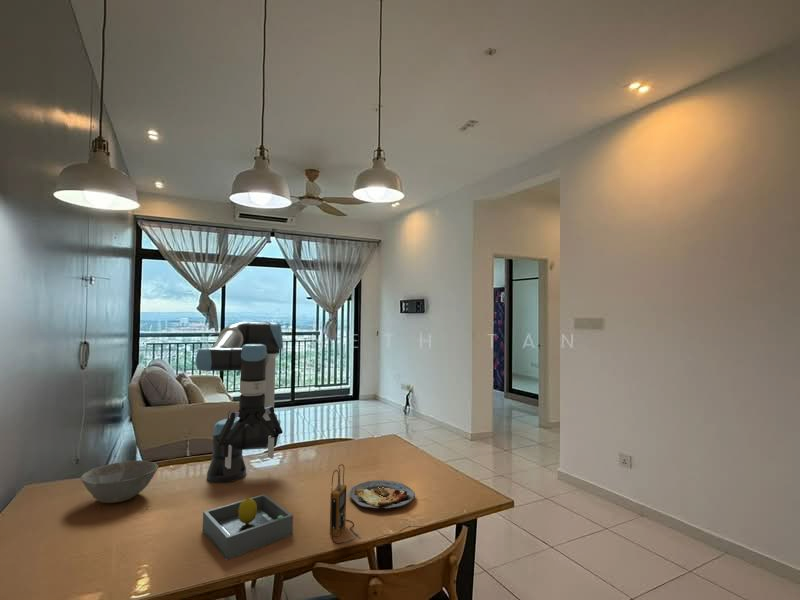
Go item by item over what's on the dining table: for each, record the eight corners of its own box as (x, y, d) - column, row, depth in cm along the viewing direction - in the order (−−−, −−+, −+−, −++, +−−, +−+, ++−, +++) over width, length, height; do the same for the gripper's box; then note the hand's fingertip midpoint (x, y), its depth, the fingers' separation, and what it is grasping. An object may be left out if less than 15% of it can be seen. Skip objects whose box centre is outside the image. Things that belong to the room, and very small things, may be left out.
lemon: (240, 520, 129) (241, 494, 129) (258, 519, 129) (259, 494, 130) (235, 529, 123) (236, 502, 124) (253, 528, 124) (254, 501, 124)
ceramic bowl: (164, 498, 149) (166, 470, 149) (86, 520, 132) (88, 489, 132) (146, 481, 164) (147, 455, 164) (73, 498, 147) (75, 470, 147)
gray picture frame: (213, 527, 127) (214, 523, 127) (260, 512, 137) (260, 508, 137) (232, 547, 116) (232, 543, 116) (281, 529, 126) (281, 525, 126)
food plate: (426, 504, 148) (426, 494, 148) (368, 520, 136) (368, 509, 137) (392, 482, 170) (392, 473, 170) (340, 493, 158) (340, 484, 158)
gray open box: (202, 531, 127) (203, 509, 127) (264, 511, 140) (264, 492, 141) (226, 560, 112) (227, 536, 112) (292, 535, 125) (293, 513, 126)
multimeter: (356, 547, 120) (358, 478, 121) (324, 543, 122) (326, 474, 123) (370, 523, 134) (371, 461, 135) (341, 519, 136) (343, 458, 137)
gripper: (215, 400, 117) (212, 475, 116) (294, 391, 134) (292, 456, 133) (206, 396, 122) (203, 468, 122) (283, 387, 139) (281, 450, 139)
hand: (250, 462), depth 127 cm, fingers open, 13 cm apart
